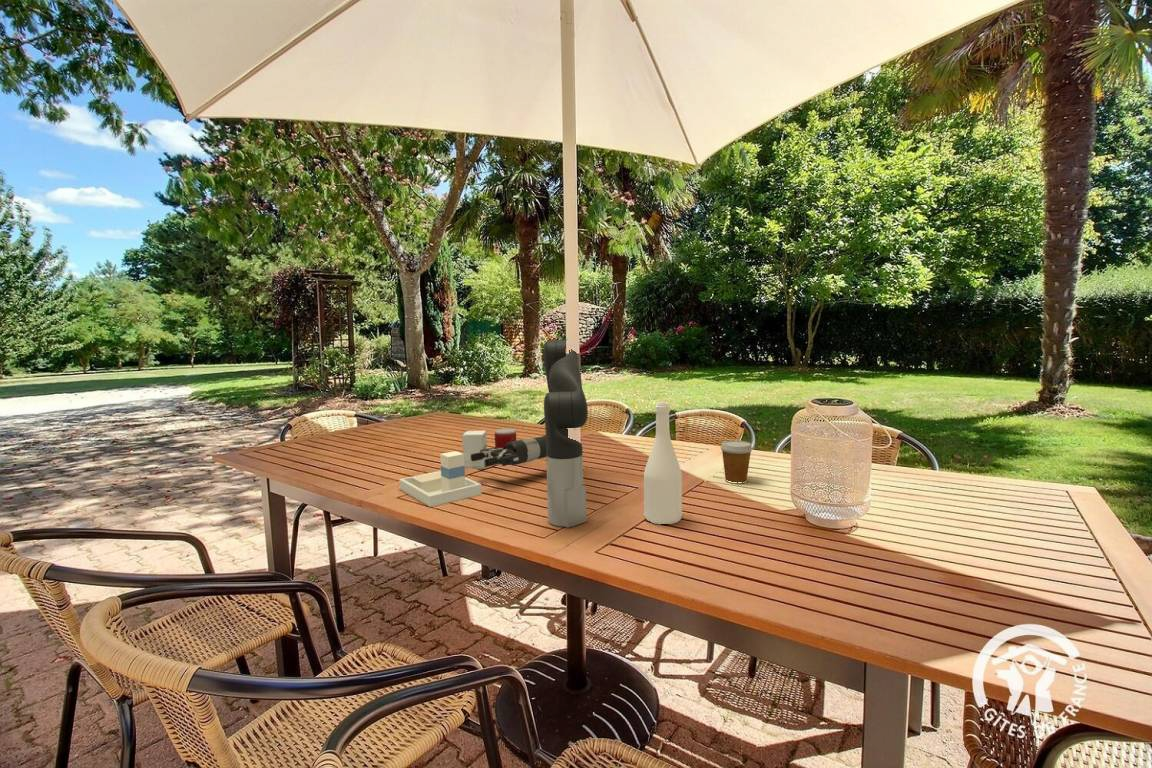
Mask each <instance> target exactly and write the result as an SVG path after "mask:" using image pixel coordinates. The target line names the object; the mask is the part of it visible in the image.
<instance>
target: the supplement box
mask: <svg viewBox="0 0 1152 768" xmlns="http://www.w3.org/2000/svg"><path fill="white" fill-rule="evenodd" d="M461 437H462V438H461V440H462V441H461V442H462V454H464V466H465V469H466V468H471V469H474V470H476V469H485V468H486V466H485V463H484V460H485V459H484V460H483V459H482V460H477V461H471V454H474V453H480V450H483V449H488V446H487V431H486V430H466V431H465V432H464V433H463V434H462V435H461ZM486 454H487V453H485V455H486Z"/></svg>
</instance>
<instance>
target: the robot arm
mask: <svg viewBox="0 0 1152 768" xmlns="http://www.w3.org/2000/svg"><path fill="white" fill-rule="evenodd" d="M566 340H567V339H550V340H546V341H545V342H544V345H543V363H544V371H545V377H546V384H547V390H548V392H547V393H546V394H545V396H544V399H543V415H544V426H545V428H544V429H545V434H544V435H542V436H539V437H532V438H523V439H518V440H517V439H516V441H512V442H508V443H507V444H506V446H505V448H504V449H503V448H498V449H497V447H495V446H494V447H489V448H488V447H487V449H483V450H480V453H474V454H471V461H477V460H482V459H483V460H484V459H485V460H484V463H485V468H486V467H487V468H488V467H492V466H502V467H505V466H509V465H510V466H517V465H521V464H525V463H530V462H533V461H536V460H541V459H544V458H546V461H545V463H546V490H547V491H546V493H547V496H546V497H547V519H548V520H547V521H548V523H549V524H550V525H552V526H556V527H565V528H572V527H574V526H577V525H580V524H583V523H586V522H587V498H586V497H587V488H586V487H587V486H586V485H584V466H583V465H584V462H583V460H584V458H583V456H584V455H583V453H584V452H583V444H582V443H581V442H580V441H578V440H577V441H576V440H573V439H570V438H568V429H567V428H574V429H578V428H582V427H583V426H585V425H586V422H587V421H588V417H589V416H588V415H589V410H588V402H587V397H586V394H585V392H584V389H583V382H582V374H581V371H580V365H579V356H578V357H577V353H576V352H575V351H573V350H572V349H571V352H570V350H569V354H568V355H567V356H566V353H565V349H566ZM485 453H487V454H486V455H485Z"/></svg>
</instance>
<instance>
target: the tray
mask: <svg viewBox="0 0 1152 768" xmlns="http://www.w3.org/2000/svg"><path fill="white" fill-rule="evenodd" d="M436 472H441V470H438V471H434V472H429V473H424V474H418V475H413V476H409V477H404V478H403V477H402V478H399V479H398V482H399V490H401V491H402V492H404V493H405V494H407V495H409V496H411V497H412V498H414V499H416V500H417V501H419V502H421V503H422V504H424V505H425V506H427V507H429V508H432V507H436V506H440V505H445V504H448V503H453V502H457V501H461V500H465V499H468V498H472V497H473V498H474V497H476V496H480V495H481V496H482V495H483V493H482V484H481V483H480V482H478V481H475V480H473V479H470V478H468V477H466V476H465V487H463V488H458V489H454V490H450V491H446V492H442V489H441V490H437V491H433V492H428V493H427V492H426V491H424V490H422V489H420V488H418V487H417V486H415V485H413V484H412V477H417V476H421V475H426V474H431V473H436Z"/></svg>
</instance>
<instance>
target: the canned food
mask: <svg viewBox="0 0 1152 768" xmlns="http://www.w3.org/2000/svg"><path fill="white" fill-rule="evenodd" d="M512 441H517V430H516V429H514V428H499V429H496V430H494V447H497V449H498V448H503V449H504V448H505V446H506V444H507V443H508V442H512Z"/></svg>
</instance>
